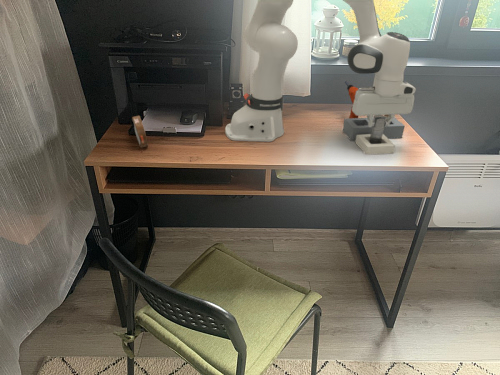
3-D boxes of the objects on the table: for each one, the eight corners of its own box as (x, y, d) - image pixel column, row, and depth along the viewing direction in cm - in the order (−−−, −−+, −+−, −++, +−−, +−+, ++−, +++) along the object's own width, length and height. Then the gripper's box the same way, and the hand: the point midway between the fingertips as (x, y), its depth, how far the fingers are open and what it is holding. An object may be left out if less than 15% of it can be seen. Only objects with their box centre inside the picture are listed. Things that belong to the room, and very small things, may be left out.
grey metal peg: (371, 148, 133) (376, 119, 127) (366, 144, 136) (371, 115, 130) (382, 147, 133) (388, 118, 128) (377, 143, 137) (382, 114, 131)
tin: (149, 150, 130) (146, 127, 126) (140, 151, 129) (136, 128, 125) (142, 133, 142) (139, 111, 137) (133, 134, 141) (130, 112, 136)
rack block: (366, 154, 130) (367, 147, 129) (355, 142, 138) (356, 134, 137) (393, 153, 132) (395, 145, 130) (380, 141, 140) (382, 133, 138)
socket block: (351, 140, 140) (353, 128, 137) (342, 130, 147) (344, 118, 144) (401, 138, 142) (404, 125, 140) (390, 128, 150) (393, 116, 147)
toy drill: (345, 108, 164) (352, 74, 155) (361, 130, 150) (370, 95, 140) (334, 108, 164) (341, 75, 154) (349, 131, 149) (357, 95, 140)
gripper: (360, 90, 119) (353, 131, 127) (420, 88, 122) (410, 128, 129) (352, 84, 124) (346, 123, 132) (410, 82, 127) (401, 121, 135)
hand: (378, 126), depth 131 cm, fingers closed on grey metal peg, 4 cm apart
